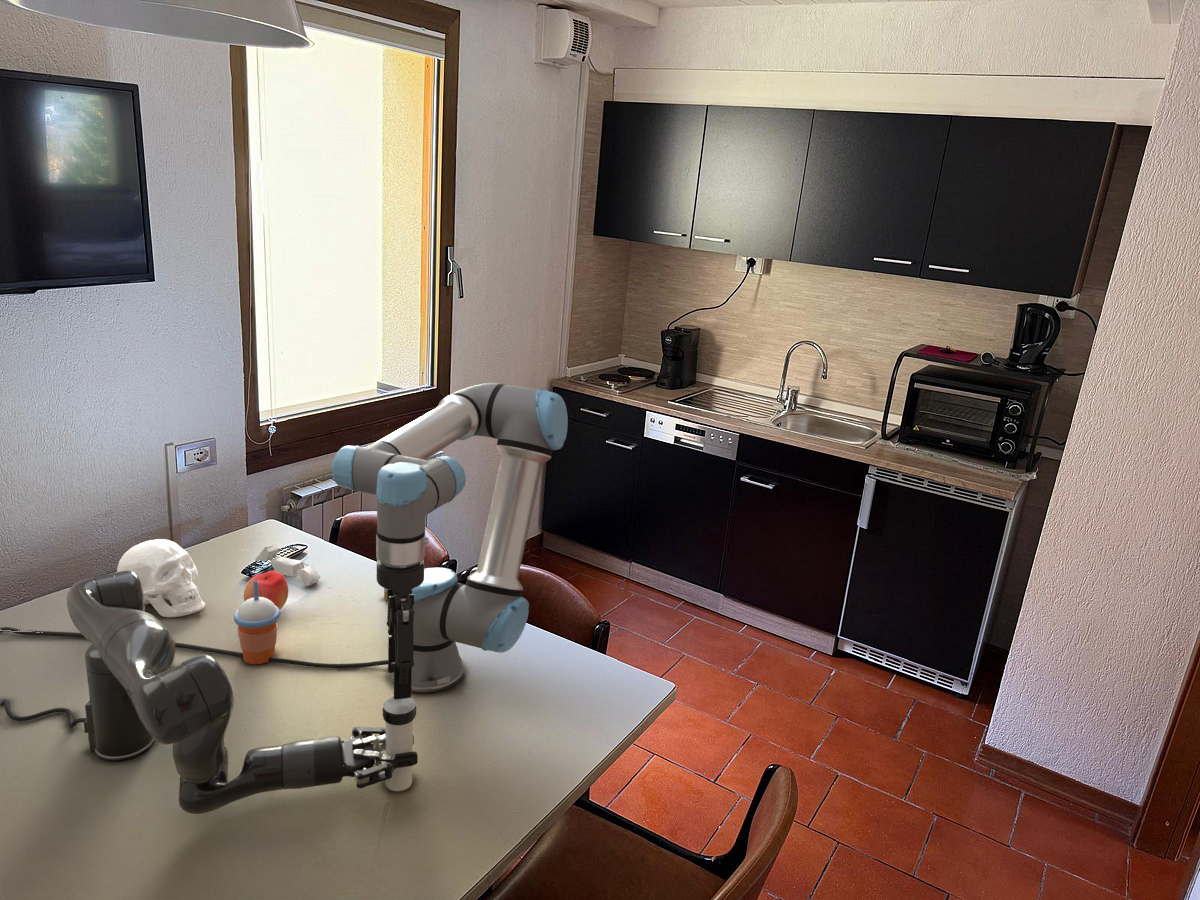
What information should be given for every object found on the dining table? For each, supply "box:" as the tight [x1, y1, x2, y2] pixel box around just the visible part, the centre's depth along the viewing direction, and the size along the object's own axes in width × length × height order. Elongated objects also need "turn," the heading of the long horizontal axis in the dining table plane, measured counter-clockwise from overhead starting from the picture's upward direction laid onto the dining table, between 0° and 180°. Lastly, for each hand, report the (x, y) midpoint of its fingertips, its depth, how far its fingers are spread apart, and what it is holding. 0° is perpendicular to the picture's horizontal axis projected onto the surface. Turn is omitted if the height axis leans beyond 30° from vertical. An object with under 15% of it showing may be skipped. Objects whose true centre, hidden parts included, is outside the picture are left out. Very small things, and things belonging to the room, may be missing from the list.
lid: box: [382, 696, 417, 725], centre depth 145 cm, size 6×6×2 cm
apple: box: [243, 570, 289, 611], centre depth 199 cm, size 10×10×10 cm
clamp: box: [254, 544, 322, 587], centre depth 219 cm, size 20×4×7 cm, turn 62°
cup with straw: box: [233, 580, 281, 665], centre depth 181 cm, size 9×9×18 cm
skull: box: [116, 538, 206, 618], centre depth 199 cm, size 13×22×16 cm, turn 73°
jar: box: [385, 720, 414, 792], centre depth 147 cm, size 4×4×15 cm
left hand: (414, 748), depth 148 cm, fingers closed on jar, 4 cm apart
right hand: (399, 683), depth 143 cm, fingers open, 7 cm apart
